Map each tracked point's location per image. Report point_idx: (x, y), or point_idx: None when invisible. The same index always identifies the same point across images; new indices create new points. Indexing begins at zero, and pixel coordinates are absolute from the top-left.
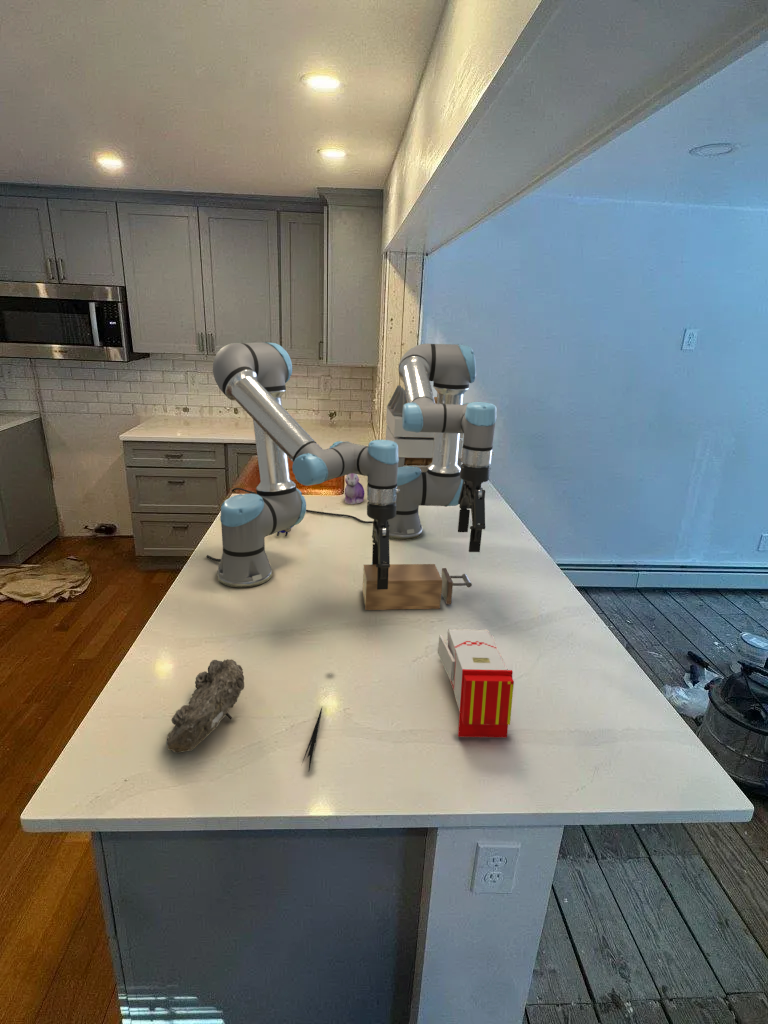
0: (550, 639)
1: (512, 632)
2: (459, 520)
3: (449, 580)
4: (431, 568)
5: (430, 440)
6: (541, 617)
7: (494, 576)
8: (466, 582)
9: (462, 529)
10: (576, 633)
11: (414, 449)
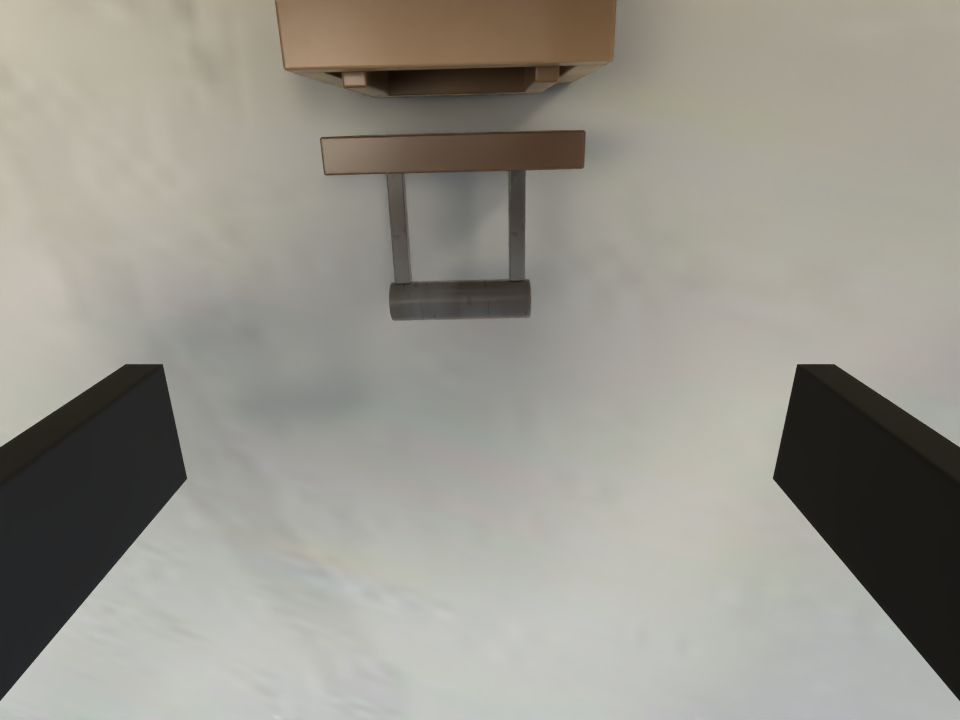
0: None
1: None
2: (919, 456)
3: (352, 151)
4: (516, 4)
5: None
6: (303, 570)
7: (720, 485)
8: (406, 289)
9: (806, 434)
10: (191, 648)
11: None
